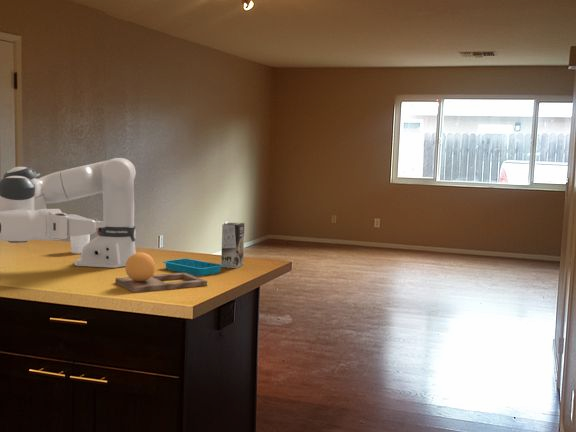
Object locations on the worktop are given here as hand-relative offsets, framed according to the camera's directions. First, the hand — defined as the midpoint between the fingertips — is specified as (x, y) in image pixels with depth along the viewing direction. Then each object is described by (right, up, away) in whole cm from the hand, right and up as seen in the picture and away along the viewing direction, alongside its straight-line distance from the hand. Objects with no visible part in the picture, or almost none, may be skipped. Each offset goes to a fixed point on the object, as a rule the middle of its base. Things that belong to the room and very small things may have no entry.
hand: (101, 222), depth 187 cm
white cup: (-29, -13, +70) cm, 77 cm away
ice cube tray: (+21, -18, +38) cm, 47 cm away
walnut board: (+15, -20, +13) cm, 28 cm away
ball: (+9, -14, +8) cm, 19 cm away
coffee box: (+34, -17, +50) cm, 63 cm away
